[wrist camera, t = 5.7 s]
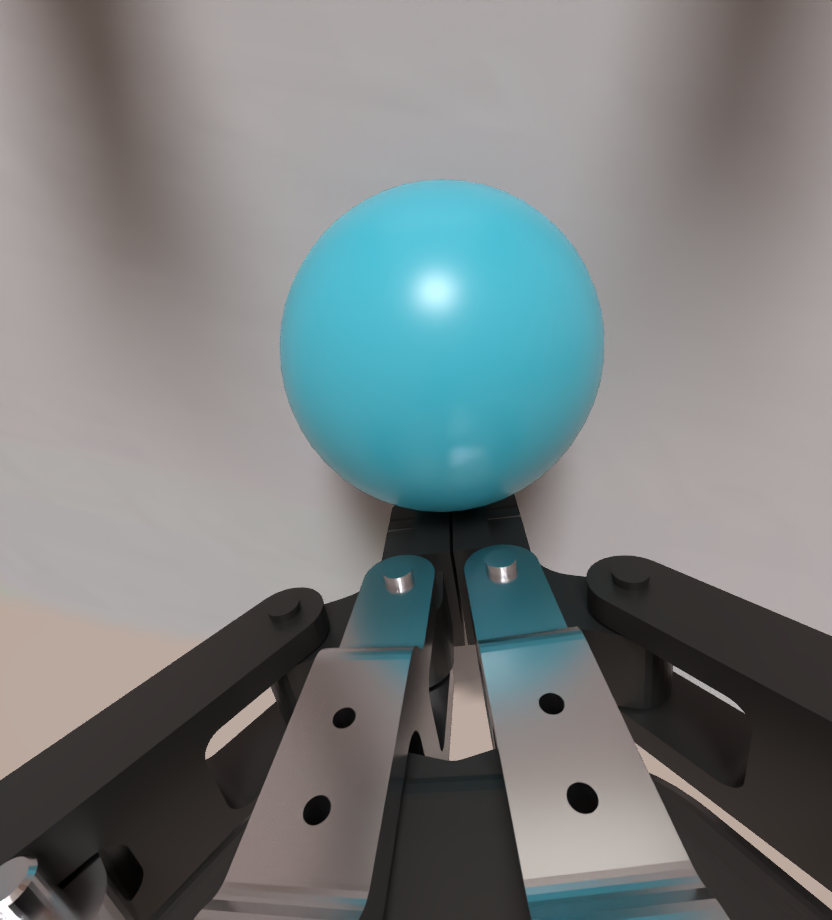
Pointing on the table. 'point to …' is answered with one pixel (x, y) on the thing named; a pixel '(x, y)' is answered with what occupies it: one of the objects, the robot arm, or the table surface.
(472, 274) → the ball
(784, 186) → the table surface
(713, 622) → the robot arm
